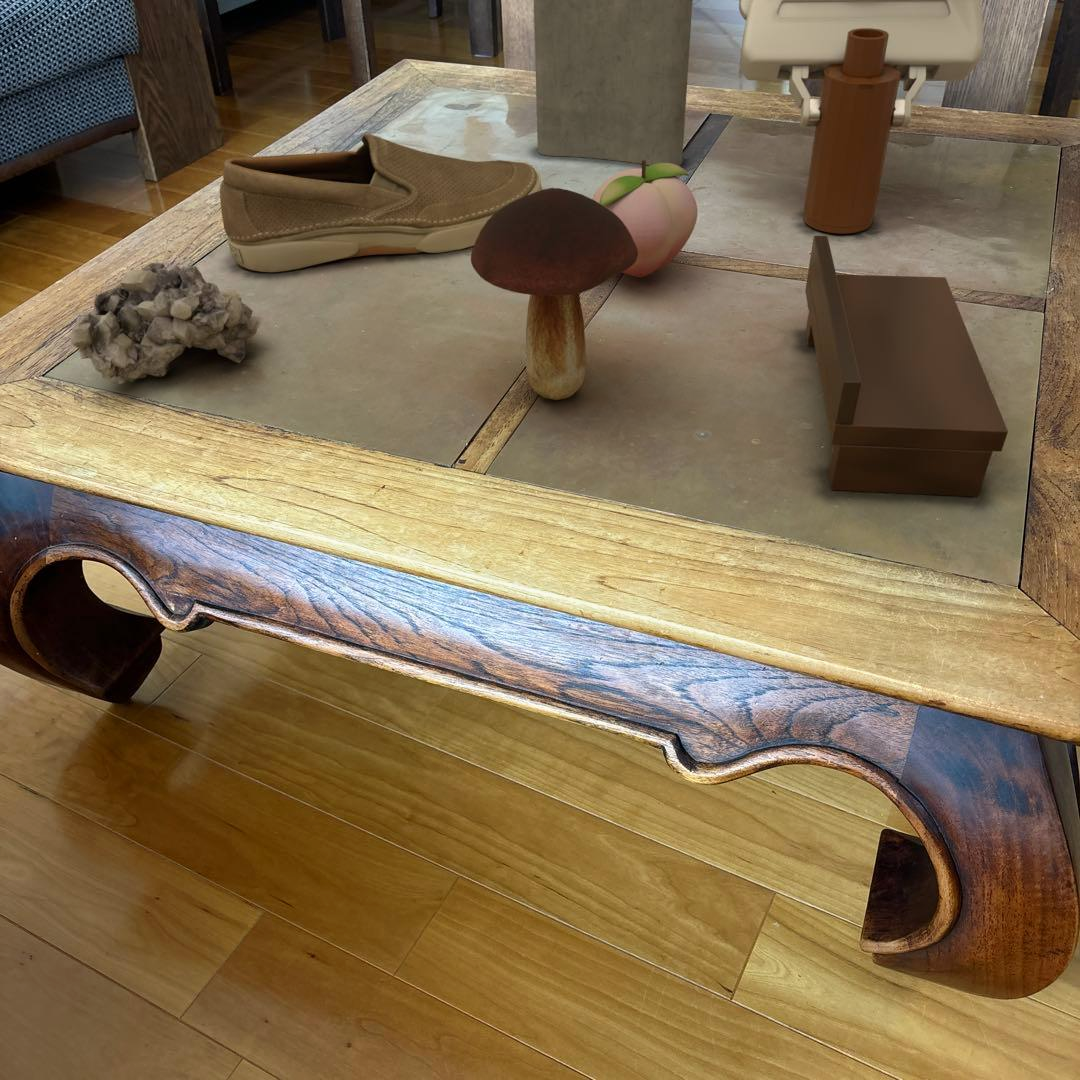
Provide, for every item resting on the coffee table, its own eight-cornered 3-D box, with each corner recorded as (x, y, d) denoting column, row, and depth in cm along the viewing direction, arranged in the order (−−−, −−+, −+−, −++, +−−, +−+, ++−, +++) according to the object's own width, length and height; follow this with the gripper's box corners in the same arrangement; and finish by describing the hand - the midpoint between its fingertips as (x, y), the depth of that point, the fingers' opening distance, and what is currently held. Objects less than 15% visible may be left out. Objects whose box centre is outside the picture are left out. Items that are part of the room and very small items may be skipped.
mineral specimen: (59, 373, 71) (97, 233, 69) (74, 353, 79) (108, 227, 77) (235, 426, 75) (276, 296, 73) (232, 402, 84) (268, 284, 82)
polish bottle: (867, 206, 97) (901, 23, 86) (876, 234, 92) (912, 44, 82) (800, 205, 98) (826, 23, 87) (806, 233, 93) (833, 44, 82)
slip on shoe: (528, 190, 102) (525, 98, 97) (561, 235, 94) (559, 137, 88) (228, 233, 97) (205, 137, 91) (235, 285, 88) (211, 183, 83)
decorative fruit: (634, 244, 93) (638, 131, 86) (708, 270, 88) (717, 154, 82) (564, 280, 88) (562, 164, 81) (638, 310, 83) (642, 190, 77)
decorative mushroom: (531, 455, 68) (523, 242, 59) (453, 382, 76) (435, 182, 66) (662, 404, 73) (675, 198, 63) (577, 340, 80) (576, 146, 70)
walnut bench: (930, 336, 79) (955, 238, 74) (986, 497, 64) (1022, 388, 59) (798, 332, 80) (813, 235, 75) (822, 489, 65) (844, 381, 60)
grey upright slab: (533, 154, 110) (527, -58, 97) (546, 141, 113) (541, -66, 100) (677, 169, 106) (691, -50, 93) (687, 155, 109) (701, -59, 96)
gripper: (744, -51, 88) (736, 105, 87) (992, -54, 85) (987, 106, 84) (737, -7, 94) (730, 139, 93) (968, -8, 92) (964, 141, 91)
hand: (855, 123), depth 89 cm, fingers closed on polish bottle, 6 cm apart
